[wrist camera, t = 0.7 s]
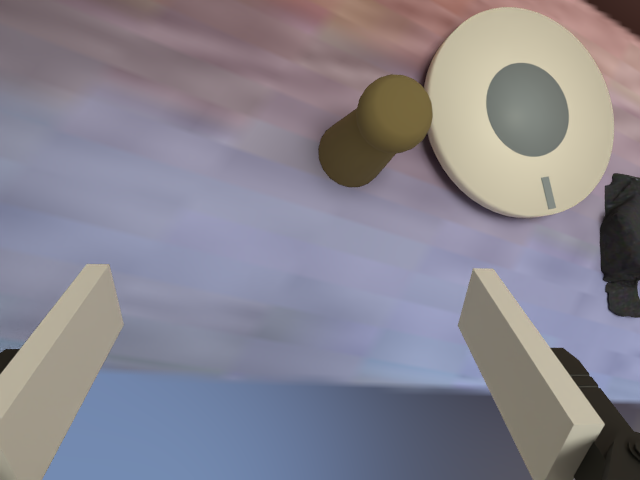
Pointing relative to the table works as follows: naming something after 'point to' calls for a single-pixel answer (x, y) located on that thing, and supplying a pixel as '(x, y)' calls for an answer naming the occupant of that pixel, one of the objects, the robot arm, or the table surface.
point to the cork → (376, 130)
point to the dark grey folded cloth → (622, 244)
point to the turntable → (519, 113)
